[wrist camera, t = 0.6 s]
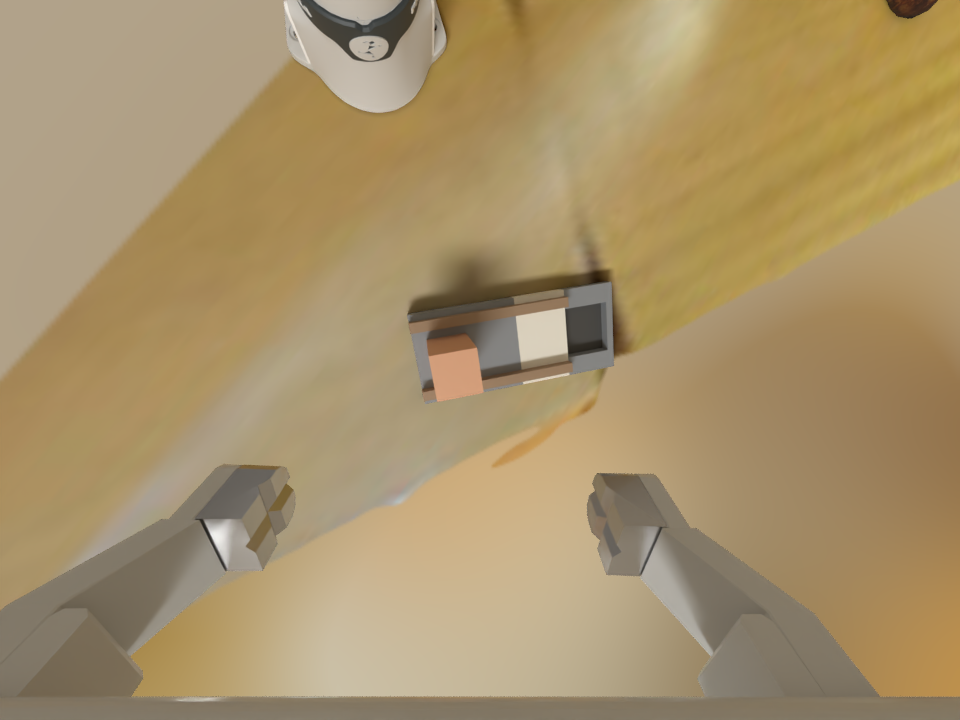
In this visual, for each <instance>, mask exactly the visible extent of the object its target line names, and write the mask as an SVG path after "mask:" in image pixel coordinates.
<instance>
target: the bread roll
mask: <svg viewBox="0 0 960 720" xmlns="http://www.w3.org/2000/svg"><path fill="white" fill-rule="evenodd" d="M887 1H888V5H889V6H890V9H891V10H894V11H893V13H895V14H896V16H898V17H903V18H907V19H909V18H913V17H915V16H917V15H920V14H922V13H924V12H926V11H928V10H929V9H930V8H931V7H932V6H933V5H934V4H935V3H936V2H937V1H938V0H887Z"/></svg>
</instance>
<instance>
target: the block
mask: <svg viewBox="0 0 960 720" xmlns="http://www.w3.org/2000/svg"><path fill="white" fill-rule="evenodd" d="M426 342H427V349H428V357H429V362H430V367H431V372H432V377H433V383H434V388H435V393H436V398H437V402H440V401H445V400H449V399H454V398H459V397H464V396H469V395H474V394H479V393H484V391H483V385H482V378H481V371H480V364H479V357H478V351H477V347H476V346H475V344H474V343H473V342H472V340H471V339H470V338H469V336H468V335H467V334H466V333H462V334H456V335H451V336H445V337H439V338H434V339H428V340H426Z"/></svg>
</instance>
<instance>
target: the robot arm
mask: <svg viewBox="0 0 960 720" xmlns="http://www.w3.org/2000/svg"><path fill="white" fill-rule="evenodd" d="M284 10H285V24H286V36H287V45H288V48H289V51H290V53H291V55H292V57H293V58H294V59H295V60H296V61H298V62H299V63H301V64H302V65H304V66H305V67H307V68H309V69H311V70H312V71H314V72H315V73H316V74H318V75H319V77H320V78H321V79H322V80H323V81H324V82H325V84H326V85H327V86H328V87H329V88H330V89H331V90H332V91H333V92H334V93H335V94H336V95H337V96H338V97H339V98H341V99H342V100H343V101H345V102H346V103H348V104H350V105H351V106H353V107H356V108H358V109H361V110H364V111H368V112H377V113H381V112H389V111H393V110H396V109H398V108H400V107H402V106H404V105H406V104H407V103H408V102H410V101H411V100H412V99H413V98H414V97H415V96H416V94H417V93H418V92H419V90H420V89H421V87H422V85H423V83H424V81H425V78H426V76H427V73H428V70H429V68H430V66H431V65H432V63H434V62H435V61H436V60H437V59H438V58H439V57H440V56H441V55H442V53H443V52H444V50H445V49H446V45H447V40H446V33H445V30H444V26H443V23H442V20H441V16H440V13H439V10H438V6H437V3H436V0H284ZM434 27H435V28H436V29H437V30H436V31H434ZM295 35H296V36H297V38H296V37H295ZM289 478H290V476H289V473H288V470H287V468H285V467H281V466H260V465H231V464H223V465H221V466H219V467H217V468H216V469H215V470H214V471H213V472H212V473H211V474H210V475H209V476H208V477H207V478H206V479H205V481H204V482H203V483H202V484H201V485H200V486H199V487H198V488H197V489H196V490H195V491H194V492H193V493H192V495H191V496H190V497H189V498H188V499H187V500H186V501H185V502H184V503H183V504H182V505H181V506H180V507H179V509H178V510H177V511H176V512H175V513H174V514H173V515H172V516H171V517H170V518H169V519H161V520H159V521H158V522H156V523H154V524H152V525H150V526H149V527H147V528H145V529H143V530H141V531H140V532H138V533H136V534H134V535H132V536H131V537H129V538H127V539H125V540H123V541H122V542H120V543H118V544H116V545H114V546H113V547H111V548H109V549H107V550H105V551H104V552H102V553H100V554H98V555H96V556H95V557H93V558H91V559H89V560H87V561H86V562H84V563H82V564H80V565H78V566H76V567H75V568H73V569H71V570H69V571H67V572H66V573H64V574H62V575H60V576H58V577H57V578H55V579H53V580H51V581H49V582H48V583H46V584H44V585H42V586H40V587H39V588H37V589H35V590H33V591H31V592H30V593H28V594H26V595H24V596H22V597H21V598H19V599H17V600H15V601H13V602H12V603H10V604H8V605H6V606H5V607H4V608H3V609H2V610H1V611H0V720H960V697H880V696H879V694H878V693H877V692H876V691H875V689H874V688H873V687H872V686H871V684H870V683H869V682H868V681H867V679H866V678H865V677H864V676H863V675H862V673H861V672H860V671H859V669H858V668H857V667H856V666H855V664H854V663H853V662H852V661H851V659H850V658H849V657H848V656H847V654H846V653H845V652H844V650H843V649H842V648H841V647H840V645H839V644H838V643H837V642H836V640H835V639H834V638H833V637H832V635H831V634H830V633H829V632H828V630H827V629H826V628H825V627H824V625H823V624H822V623H821V622H820V620H819V619H818V618H817V617H816V615H815V614H814V613H813V612H812V611H810V610H809V609H807V608H806V607H805V606H803V605H802V604H800V603H799V602H797V601H796V600H795V599H793V598H792V597H791V596H789V595H788V594H787V593H785V592H784V591H782V590H781V589H780V588H778V587H777V586H775V585H774V584H773V583H771V582H770V581H769V580H767V579H766V578H764V577H763V576H762V575H760V574H759V573H757V572H756V571H755V570H753V569H752V568H751V567H749V566H748V565H747V564H745V563H744V562H742V561H741V560H740V559H738V558H737V557H735V556H734V555H733V554H731V553H729V551H727V550H726V549H724V548H723V547H722V546H720V545H719V544H717V543H716V542H715V541H713V540H712V539H711V538H709V537H708V536H706V535H705V534H703V533H702V532H701V531H699V530H698V529H697V528H690V527H689V525H688V523H687V522H686V520H685V519H684V517H683V516H682V514H681V512H680V511H679V509H678V508H677V506H676V505H675V503H674V502H673V500H672V498H671V497H670V495H669V494H668V492H667V491H666V489H665V488H664V486H663V484H662V483H661V481H660V480H659V479H658V477H657V476H656V475H654V474H614V473H613V474H612V473H597V474H596V475H595V477H594V480H593V483H592V484H593V486H594V489H595V491H594V492H593V493H592V494H591V495H589V499H588V503H587V516H588V521H589V525H590V528H591V531H592V533H593V534H594V535H595V536H596V537H597V538H598V539H599V540H600V542H599V545H598V552H599V555H600V558H601V561H602V563H603V566H604V569H605V572H606V575H623V576H641V579H642V581H643V582H644V583H645V584H646V585H647V586H648V587H649V588H650V589H651V591H652V592H653V593H654V594H655V595H656V596H657V597H658V598H659V599H660V601H662V603H663V604H664V605H665V606H666V607H667V608H668V609H669V610H670V612H671V613H672V614H673V615H674V616H675V617H676V618H677V619H678V620H679V622H680V623H681V624H682V625H683V626H684V627H685V628H686V629H687V630H688V632H689V633H690V634H691V635H692V636H693V637H694V638H695V639H696V640H697V641H698V643H699V644H700V645H701V646H702V647H703V648H704V649H705V650H706V651H707V653H708V654H709V655H710V656H711V658H710V659H709V661H708V662H707V663H706V664H705V666H704V667H703V669H702V670H701V671H700V673H699V676H698V682H699V684H700V686H701V688H702V690H703V693H704V695H705V697H131V696H132V694H133V693H134V691H135V690H136V688H137V687H138V685H139V684H140V682H141V681H142V679H143V672H142V670H141V669H140V667H139V666H138V665H137V664H136V663H135V662H134V661H133V660H132V659H131V657H130V656H131V655H132V654H133V653H134V652H135V651H137V650H138V649H139V648H140V647H141V646H143V645H144V644H145V643H146V642H147V641H148V640H149V639H151V638H152V637H153V636H154V635H155V634H156V633H157V632H159V631H160V630H161V629H162V628H163V627H164V626H166V625H167V624H168V623H169V622H170V621H171V620H172V619H174V618H175V617H176V616H177V615H178V614H179V613H181V612H182V611H183V610H184V609H185V608H186V607H188V606H189V605H190V604H191V603H192V602H193V601H195V600H196V599H197V598H198V597H199V596H200V595H201V594H203V593H204V592H205V591H206V590H207V589H208V588H210V587H211V586H212V585H213V584H214V583H215V582H216V581H218V580H219V579H220V578H221V577H222V576H223V575H225V573H226V572H225V571H263V569H264V568H265V566H266V564H267V562H268V560H269V559H270V557H271V555H272V553H273V551H274V550H275V548H276V546H277V544H278V543H277V539H276V535H277V534H279V533H280V532H281V531H283V530H284V529H285V528H287V526H288V524H289V522H290V520H291V518H292V516H293V512H294V509H295V493H294V490H293V489H292V488H291V487H290V486H289V485H287V484H286V483H287V481H288V479H289Z"/></svg>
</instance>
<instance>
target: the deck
mask: <svg viewBox="0 0 960 720" xmlns="http://www.w3.org/2000/svg"><path fill="white" fill-rule="evenodd" d="M407 316H408V321H409V329H410V334H411V336H412V341H413V346H414V351H415V356H416V361H417V366H418V371H419V375H420V380H421V385H422V393H423V398H424V402H425V404H427V403H432V402H437V398H436V393H435V388H434V383H433V377H432V372H431V367H430V362H429V357H428V349H427V342H426V340H428V339H434V338H439V337H445V336H451V335H456V334H462V333H466V334H467V335H468V336H469V338H470V339H471V340H472V342H473V343H474V344H475V346H476V347H477V351H478V357H479V364H480V371H481V378H482V385H483V391H484V392H487V391H492V390H497V389H502V388H507V387H512V386H517V385H522V384H526V383H531V382H536V381H541V380H546V379H551V378H556V377H561V376H566V375H571V374H576V373H581V372H586V371H591V370H596V369H601V368H606V367H611V366H614V355H613V319H612V283H611V282H598V283H592V284H586V285H580V286H574V287H568V288H562V289H556V290H550V291H543V292H537V293H531V294H525V295H519V296H513V297H507V298H501V299H495V300H488V301H482V302H476V303H470V304H464V305H458V306H452V307H446V308H440V309H433V310H427V311H421V312H415V313H409V314H408V315H407Z"/></svg>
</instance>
